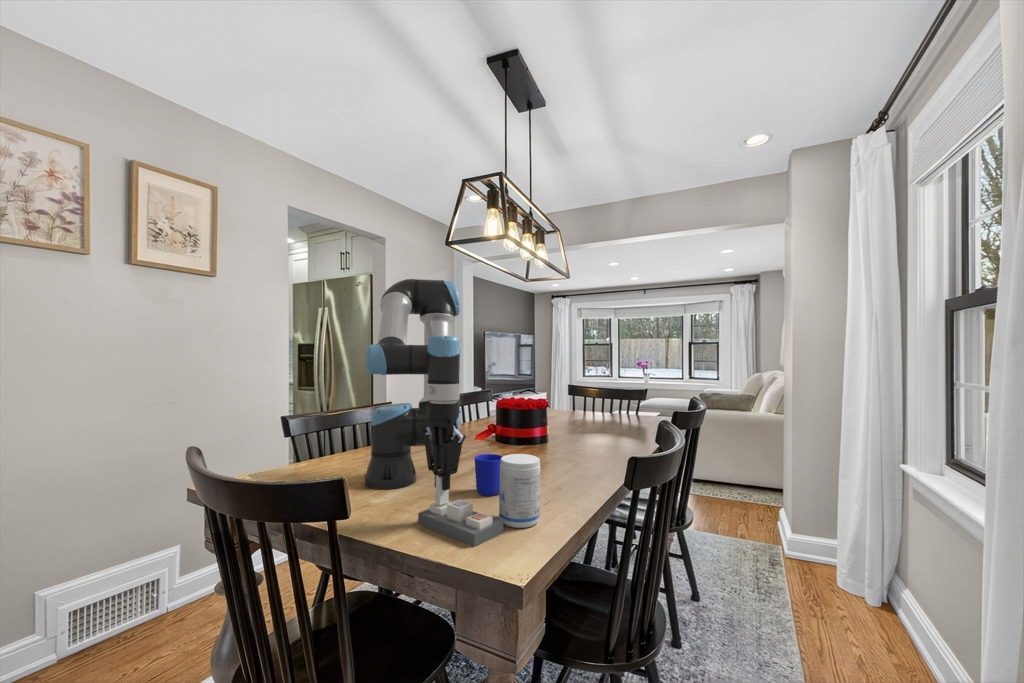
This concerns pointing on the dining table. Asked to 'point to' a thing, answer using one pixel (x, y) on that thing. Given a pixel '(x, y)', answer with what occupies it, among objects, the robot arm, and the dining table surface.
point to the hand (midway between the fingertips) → (442, 503)
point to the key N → (439, 509)
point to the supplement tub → (519, 490)
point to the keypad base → (460, 528)
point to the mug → (488, 474)
